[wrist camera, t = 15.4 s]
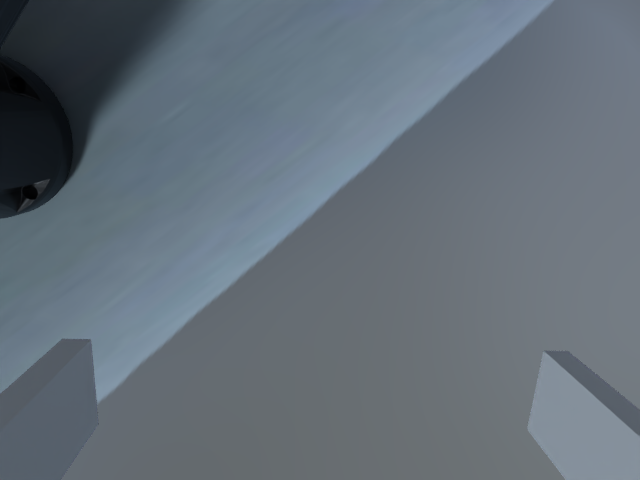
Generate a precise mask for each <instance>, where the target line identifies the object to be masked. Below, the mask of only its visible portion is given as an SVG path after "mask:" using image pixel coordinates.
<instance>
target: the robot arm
mask: <svg viewBox="0 0 640 480" xmlns="http://www.w3.org/2000/svg"><path fill="white" fill-rule="evenodd" d="M28 1H29V0H0V48H1V47H2V45H3V43H4V42H5V40H6V38H7V37H8V35H9V33H10V32H11V30H12V28H13V27H14V25H15V23H16V22H17V20H18V18H19V16H20V15H21V13H22V11H23V10H24V8H25V6H26V5H27V3H28ZM72 148H73V147H72V136H71V131H70V127H69V123H68V120H67V117H66V115H65V113H64V110H63V108H62V106H61V105H60V103H59V101H58V100H57V98H56V97H55V95H54V94H53V92H52V91H51V90H50V89H49V87H48V86H47V85H46V84H45V83H44V82H43V81H42V80H41V79H40V78H39V77H38V76H37V75H35V74H34V73H33V72H32V71H30V70H29V69H28V68H26V67H25V66H23V65H21V64H20V63H18V62H16V61H14V60H12V59H10V58H7V57H5V56H2V55H0V219H1V218H8V217H12V216H15V215H19V214H22V213H25V212H29V211H31V210H34V209H36V208H38V207H40V206H41V205H43V204H45V203H46V202H47V201H49V200H50V199H51V198H52V197H53V196H54V195H55V194H56V193H57V192H58V191H59V189H60V188H61V186H62V185H63V183H64V181H65V179H66V177H67V175H68V172H69V169H70V166H71V161H72ZM98 424H99V423H98V412H97V400H96V389H95V378H94V367H93V356H92V345H91V339H62V340H61V341H60V342H58V343H57V344H56V345H55V346H54V347H53V348H52V349H51V350H49V351H48V352H47V353H46V354H45V355H44V356H43V357H42V358H40V359H39V360H38V361H37V362H36V363H35V364H34V365H33V366H31V367H30V368H29V369H28V370H27V371H26V372H25V373H24V374H22V375H21V376H20V377H19V378H18V379H17V380H16V381H15V382H13V383H12V384H11V385H10V386H9V387H8V388H7V389H5V390H4V391H3V392H2V393H1V394H0V480H61V479H62V477H63V476H64V474H65V473H66V471H67V470H68V468H69V467H70V466H71V464H72V463H73V461H74V459H75V458H76V457H77V455H78V454H79V452H80V451H81V449H82V447H83V446H84V445H85V443H86V442H87V440H88V439H89V438H90V436H91V435H92V433H93V432H94V430H95V429H96V427H97V425H98ZM528 431H529V432H530V433H531V435H532V436H533V437H534V439H535V440H536V441H537V443H538V444H539V445H540V447H541V448H542V449H543V450H544V452H545V453H546V454H547V456H548V457H549V458H550V460H551V461H552V462H553V463H554V465H555V466H556V467H557V469H558V470H559V471H560V473H561V474H562V475H563V477H564V478H565V479H566V480H640V410H639V409H638V408H637V407H636V406H634V405H633V404H632V403H631V402H630V401H628V400H627V399H626V398H625V397H624V396H622V395H621V394H620V393H619V392H617V391H616V390H615V389H614V388H613V387H611V386H610V385H609V384H608V383H606V382H605V381H604V380H603V379H602V378H600V377H599V376H598V375H597V374H595V373H594V372H593V371H592V370H591V369H589V368H588V367H587V366H586V365H584V364H583V363H582V362H581V361H580V360H578V359H577V358H576V357H574V356H573V355H572V354H571V353H570V352H568V351H543V356H542V361H541V366H540V371H539V376H538V381H537V385H536V390H535V395H534V399H533V404H532V409H531V414H530V419H529V423H528Z"/></svg>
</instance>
